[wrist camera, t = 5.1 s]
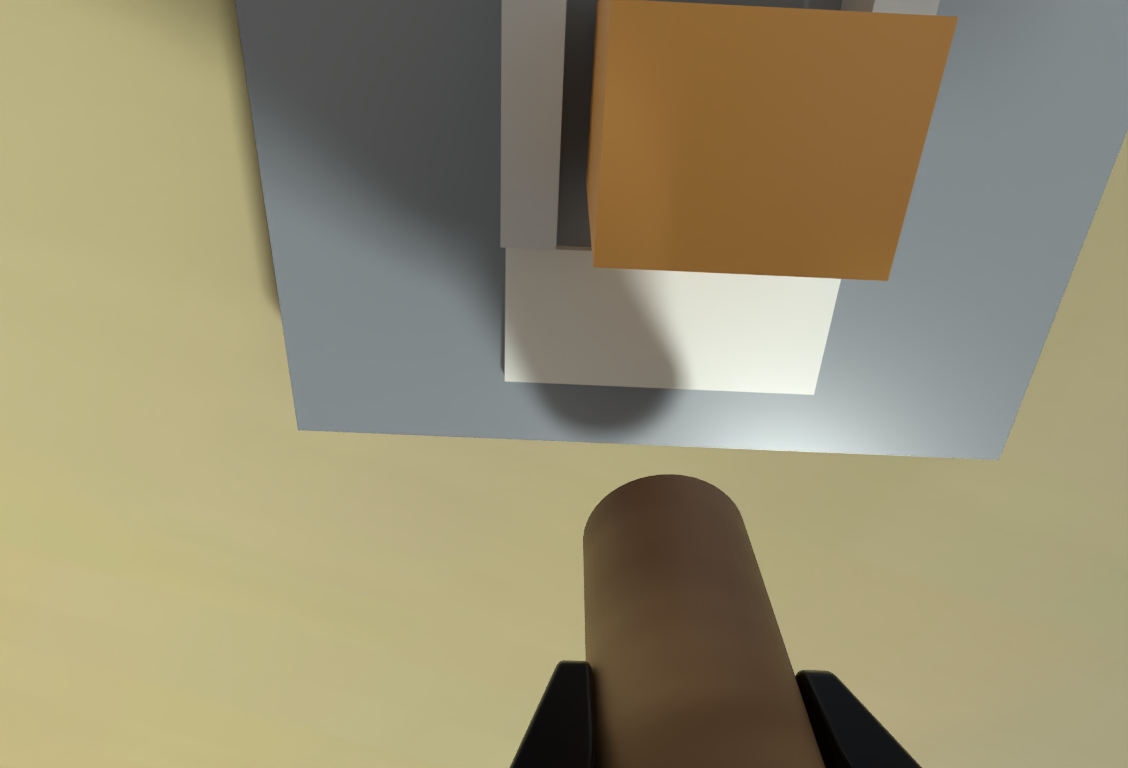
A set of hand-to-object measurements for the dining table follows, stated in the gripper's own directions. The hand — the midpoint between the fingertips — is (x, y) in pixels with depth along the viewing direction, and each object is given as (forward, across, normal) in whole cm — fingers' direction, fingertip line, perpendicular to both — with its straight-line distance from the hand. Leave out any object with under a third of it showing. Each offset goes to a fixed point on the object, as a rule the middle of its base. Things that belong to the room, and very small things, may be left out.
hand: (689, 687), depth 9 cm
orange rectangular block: (+5, 0, -6) cm, 8 cm away
